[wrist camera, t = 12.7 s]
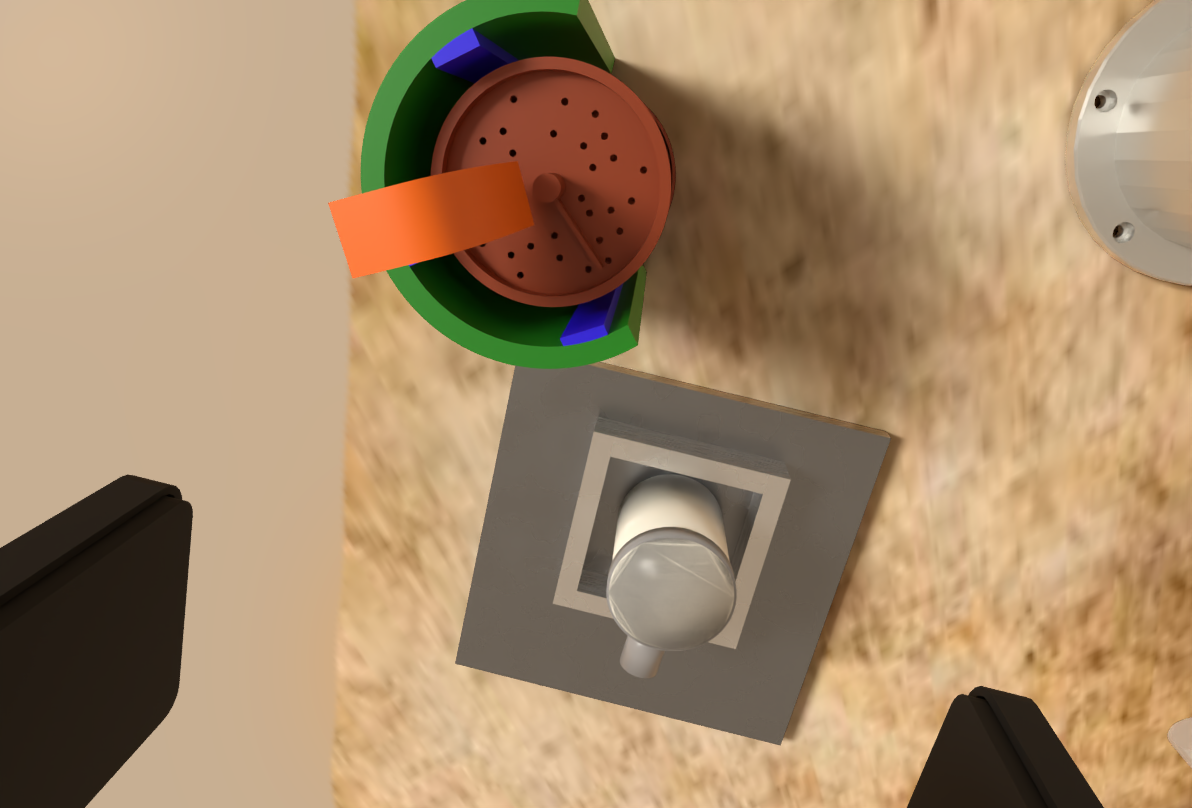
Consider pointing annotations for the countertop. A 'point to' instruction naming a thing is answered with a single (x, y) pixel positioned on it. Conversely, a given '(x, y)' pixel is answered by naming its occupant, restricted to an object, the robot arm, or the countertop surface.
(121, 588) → the robot arm
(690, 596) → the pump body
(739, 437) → the mount plate
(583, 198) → the motor
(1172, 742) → the pipe connector
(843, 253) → the countertop surface
